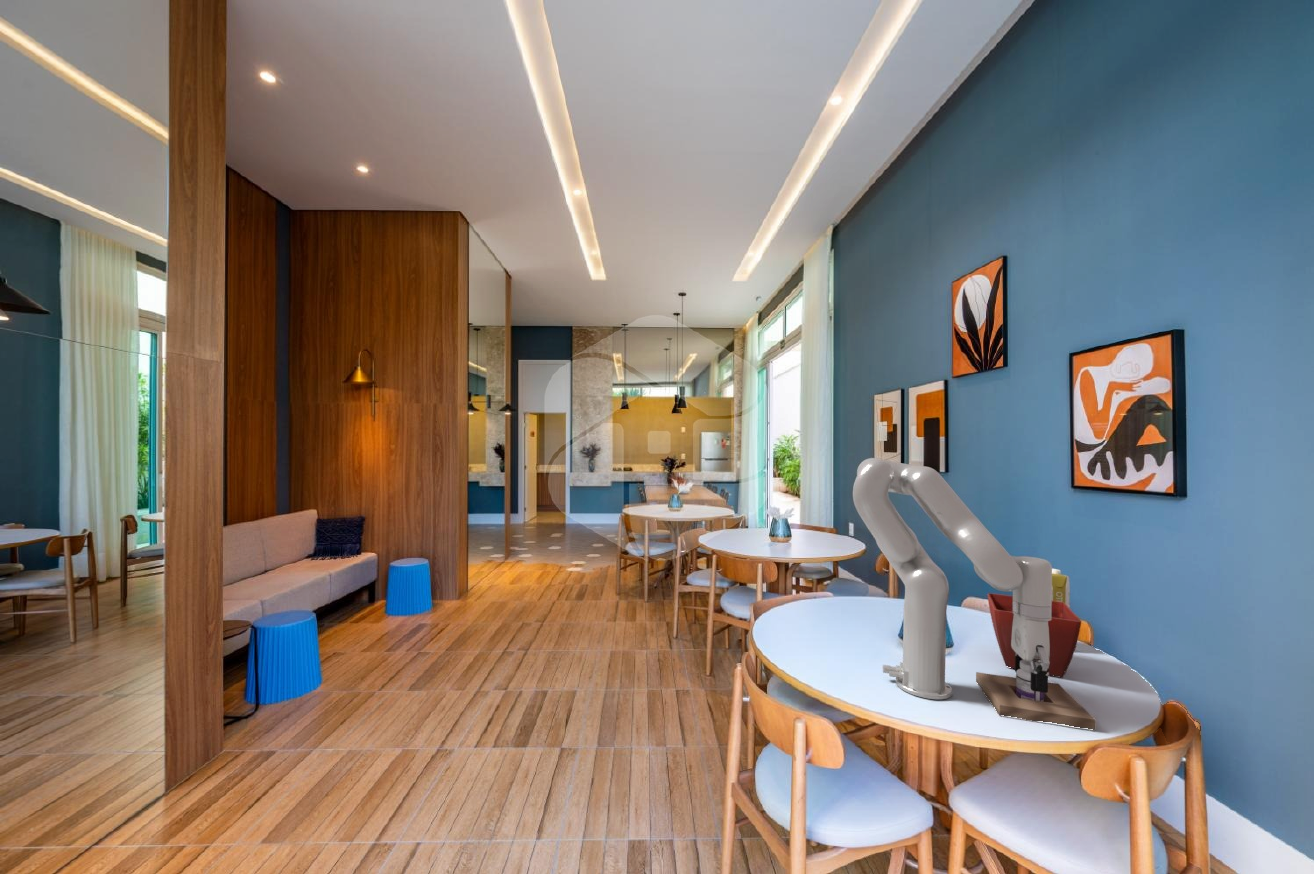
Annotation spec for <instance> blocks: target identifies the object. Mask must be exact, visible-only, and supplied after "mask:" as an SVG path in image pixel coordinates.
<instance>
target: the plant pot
mask: <svg viewBox="0 0 1314 874" xmlns="http://www.w3.org/2000/svg"><path fill="white" fill-rule="evenodd" d="M987 599H988V600H987V601H988V607H989V612H990V618H991V623H992V626H993V630H994V634H995V638H996V641H997V645H998V648H999V651H1000V654H1001V656H1002V659H1003V662H1004V665H1005V666H1008V667H1011V668H1015V656H1016V655H1015V651H1014V650H1013V649H1012V647H1011V638H1012V624H1013V616H1014V614H1013V613H1012V611H1013V595H1007V594H999V593H991V592H989V593H987ZM1081 626H1082V620H1081V619H1080V618H1079V617H1078V615H1077V614H1075V612H1073V611H1072V609H1071V608H1070V606H1069V607H1068V606H1067V605H1066V604H1065V603H1062V602H1056V601H1052V606H1051V620H1050V621H1048V627H1049V643H1050V656H1049V661H1050V664H1049V671H1048V673H1049V675H1048V676H1050V675H1054V676H1053V677H1055V676H1060V677H1059V678H1063V677H1064V676H1065V675H1066V673H1067V671H1068V668H1069V667H1070V664H1071V661H1072V659H1073V656H1074V654H1075V650H1076V647H1077V644H1078V641H1079V636H1080V632H1081ZM1033 659H1034V658H1033ZM1036 660H1040V659H1036ZM1008 667H1007V668H1008ZM1011 668H1010V669H1011Z"/></svg>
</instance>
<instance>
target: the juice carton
mask: <svg viewBox="0 0 1314 874" xmlns="http://www.w3.org/2000/svg"><path fill="white" fill-rule="evenodd" d="M1061 572H1062V570H1060V569H1056V568H1053V567H1052V601H1056V602H1062V603H1065V604H1066V605H1067V606H1068V607H1069V608H1070V604H1071V603H1070V598H1071V597H1070V596H1071V595H1070V594H1071V593H1070V592H1071V590H1070V589H1071V587H1070V577H1069V576H1068V575H1066V574H1061Z"/></svg>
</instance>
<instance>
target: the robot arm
mask: <svg viewBox="0 0 1314 874" xmlns="http://www.w3.org/2000/svg"><path fill="white" fill-rule="evenodd" d="M889 493H894V494H900V495H905V496H909V497H911V496H912V498H913V499H914V500H915V502H917V504H918V505H919V506H920V508H922V510H923V511H924V513H925V514H926V515H927V517H929V519H930V520H931V521H932V523H934V525H935V526H936V527H937V529H938V530H939V531H940V532H941V533H942V534H943V536H945V537H946V539H948V540H949V541H950V542H951V543H953V544H954V545H955V546H956V547H958V549H960V550H961V551H962V553H963V554H964V555H966V557H967V558H968V559H969V561H970V562H971V563H972V564H973V570H974V571H975V574H976V575H977V576H978V577H979V578H980V579H981V580H982V581H984V582H986V583H987V584H988V585H989V586H990V587H992V588H993V589H995V590H997V591H1000V592H1004V593H1005V592H1006V593H1007V592H1008V593H1009V592H1012V596H1013V611H1012V613H1013V614H1014V616H1013V624H1012V638H1011V647H1012V649H1013V650H1014V651H1015V655H1016V656H1015V669H1014V672H1015V673H1016V671H1017V670H1018V669H1021V668H1020V661H1021V660H1024V661H1026V662H1028V661H1030V663H1031V667H1032V671H1033V672H1031V687H1030V688H1031V690H1032V691H1037V692H1044V693H1047V692H1048V682H1049V676H1050V675H1049V673H1048V671H1049V664H1050V661H1049V656H1050V643H1049V627H1048V621H1050V620H1051V606H1052V568H1053V567H1052V564H1051V562H1050V561H1048V560H1047V559H1044V558H1039V557H1033V556H1026V555H1025V556H1023V555H1022V556H1014V555H1010V553H1009V552H1008V551H1007V550H1006V548H1004V546H1003V545H1002V544H1001V543H1000V542H999V541H998V540H997V538H996V537H995V536H994V535H993V534H992V533H991V532H990V531H989V530H988V529H987V528H986V526H985V525H984V524H983V523H982V522H981V521H980V519H979V518H978V517H977V516H976V515H975V514H974V513H973V512H972V511H971V510H970V508H969V507H968V506H967V505H966V503H964V501H963V500H962V499H961V498H960V497H959V496H958V494H957V493H956V492H955V490H954V489H953V488H952V487H951V486H950V485H949V483H948V482H947V481H946V480H945V479H944V478H943V476H942V475H941V474H940V473H939V472H938V471H937V470H936V469H934V468H932V467H930V466H924V465H917V464H908V463H904V462H903V463H901V462H897V461H891V460H887V459H882V458H878V457H877V458H876V457H870V458H869V457H868V458H866V459H864V460H862V461H861V463H859V465H858V467H857V470H856V477H855V480H854V483H853V488H852V500H853V504H854V507H855V510H856V511H857V513H858V515H859V517H860V518H861V520H862V521H863V523H864V524H865V526H866V528H867V529H868V531H869V532H870V534H871V535H872V536H873V539H874V540H875V543H876V545H877V547H878V548H879V550H880V551H881V552H882V554H883V556H884V557H885V558H886V559H887V562H889V564H890V566H891V567H892V568H893V570H894V571H895V573H896V574H897V576H898V577H899V579H900V580H901V582H902V583H903V585H904V600H903V601H904V603H903V616H902V617H903V619H902V620H903V627H902V628H903V629H902V631H903V634H902V635H903V636H902V637H903V640H902V662H899V665H895V666H891V665H888V664H882V672H883V674H884V673H885V674H888V676H889V677H890V678H891V677H892V678H895V684H896V685H897V687H898V688H900V689H901V690H903V691H904V692H906V693H908V694H910V695H913V696H916V697H919V698H923V699H927V700H928V699H929V700H946V699H949V698H951V697H952V695H953V689H952V686H951V685H949V684H948V682H946V652H947V651H946V650H947V647H946V646H947V641H946V640H947V629H946V628H947V627H946V626H947V608H948V602H949V601H948V600H949V595H950V592H949V591H950V587H949V581H948V579H947V576H946V574H945V572H944V570H942V569H941V568H940V567H939V565H937V564H936V563H935V562H934V561H933V559H932V558H931V557H930V555H929V554H928V553H927V551H926V549H924V547H923V546H922V545H921V543H920V541H919V540H918V537H917V535H916V533H915V532H914V531H913V530H912V529H911V528H910V527H909V525H908V524H907V522H905V520H904V519H903V517H902V516H901V515H900V514H899V512H898V510H897V508H896V507H895V505H894V504H893V503H892V501H891V499H890V497H889V496H890V495H889ZM1033 658H1034V659H1033ZM1036 659H1040V660H1036ZM1035 664H1040V665H1038V667H1037V668H1036V665H1035Z"/></svg>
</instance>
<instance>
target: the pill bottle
mask: <svg viewBox="0 0 1314 874" xmlns="http://www.w3.org/2000/svg"><path fill="white" fill-rule="evenodd" d="M1035 665H1036V668H1037V667H1038V665H1040V664H1035ZM1020 668H1021V669H1018V670H1017V671H1016V672H1015V673H1016V674H1015V678H1016V695H1017V696H1018V698H1022V699H1029V700H1035V701H1042V702H1044V692H1037V691H1032V690H1031V688H1030V687H1031V672H1033V671H1032V667H1031V663H1030V661H1028V662H1026V661H1024V660H1021V661H1020Z"/></svg>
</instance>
